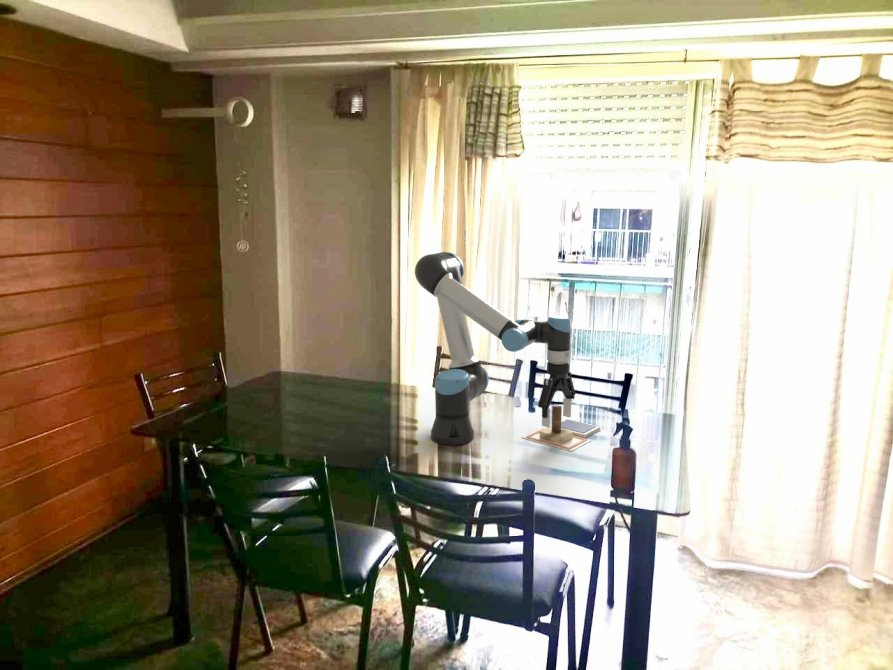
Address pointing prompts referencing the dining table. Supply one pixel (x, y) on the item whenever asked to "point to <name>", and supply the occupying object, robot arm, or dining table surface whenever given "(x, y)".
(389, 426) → the dining table surface
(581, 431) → the ink pad
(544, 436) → the stamp
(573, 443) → the marked sheet
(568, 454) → the dining table surface
